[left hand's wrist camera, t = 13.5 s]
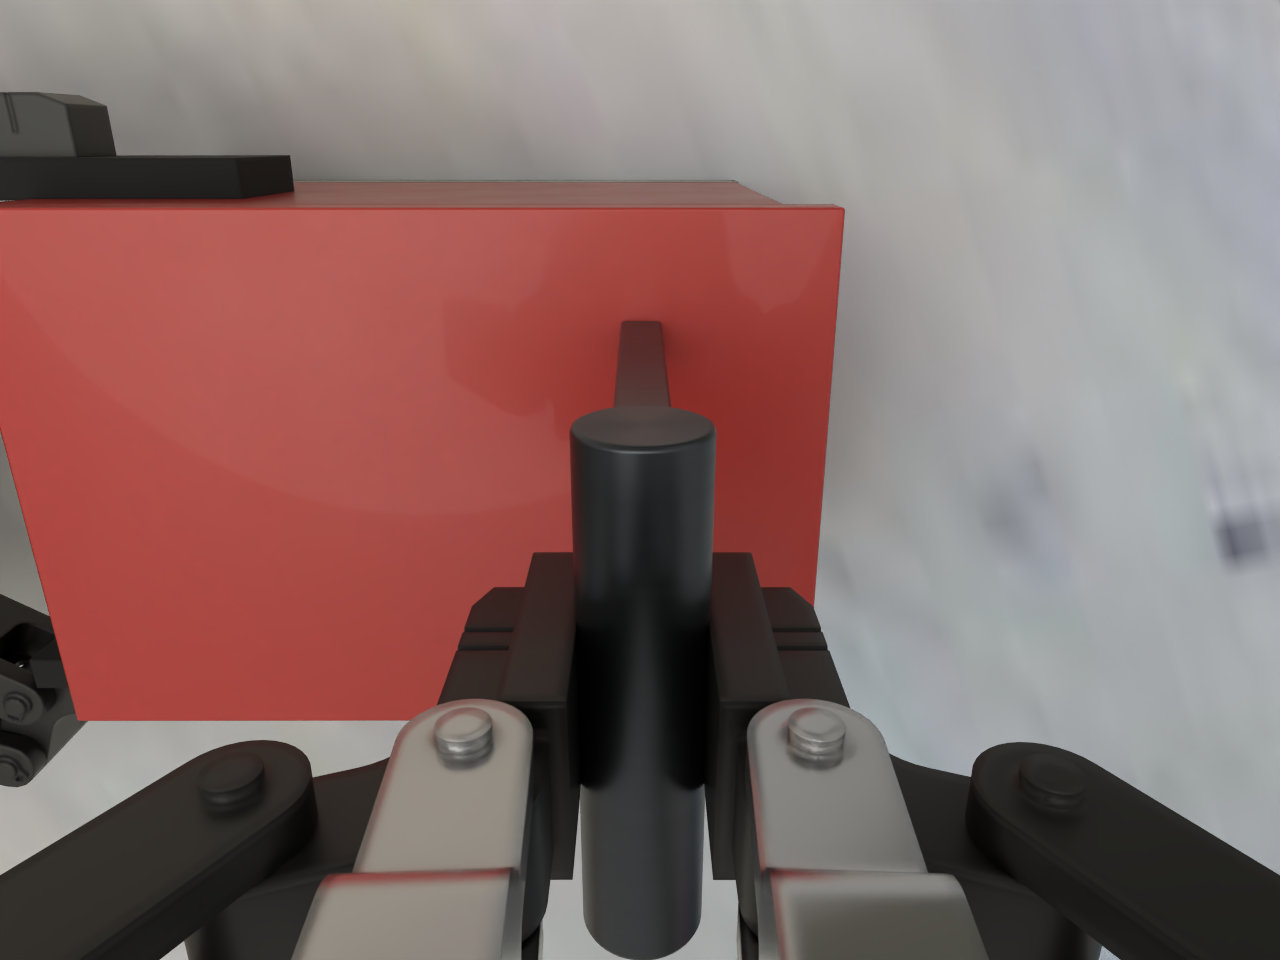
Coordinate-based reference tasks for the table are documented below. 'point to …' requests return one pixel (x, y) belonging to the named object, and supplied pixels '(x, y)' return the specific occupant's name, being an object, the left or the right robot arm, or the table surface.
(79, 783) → the table surface
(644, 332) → the lid
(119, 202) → the chest
